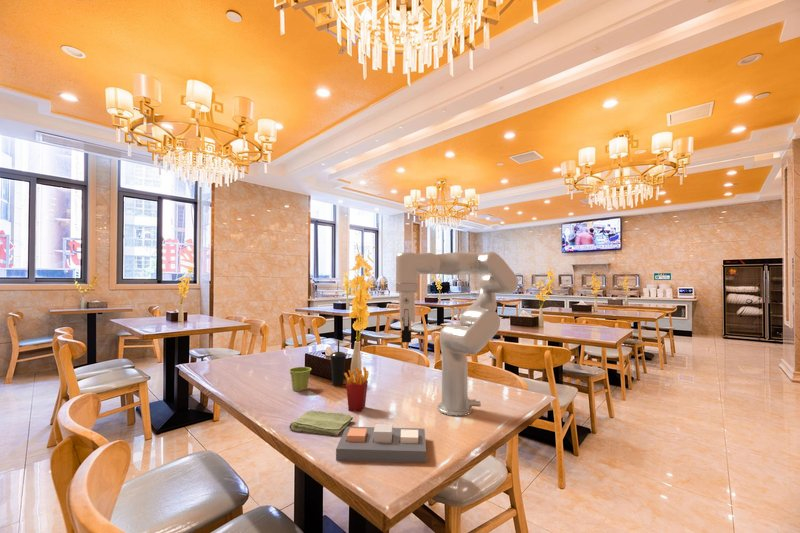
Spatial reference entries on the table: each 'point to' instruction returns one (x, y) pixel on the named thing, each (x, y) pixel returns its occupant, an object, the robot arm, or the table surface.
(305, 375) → the plant pot
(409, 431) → the cream key
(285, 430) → the table surface
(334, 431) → the washcloth
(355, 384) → the french fries
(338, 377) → the drinking cup
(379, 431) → the grey key
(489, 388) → the table surface
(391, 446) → the keypad base
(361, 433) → the terracotta key
